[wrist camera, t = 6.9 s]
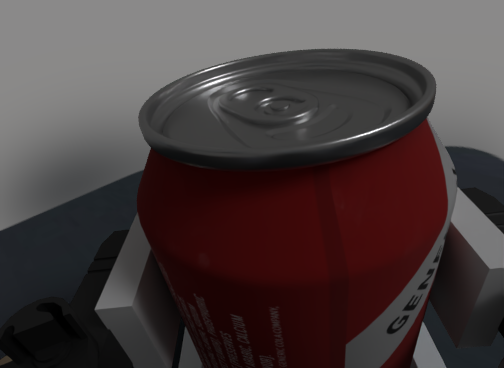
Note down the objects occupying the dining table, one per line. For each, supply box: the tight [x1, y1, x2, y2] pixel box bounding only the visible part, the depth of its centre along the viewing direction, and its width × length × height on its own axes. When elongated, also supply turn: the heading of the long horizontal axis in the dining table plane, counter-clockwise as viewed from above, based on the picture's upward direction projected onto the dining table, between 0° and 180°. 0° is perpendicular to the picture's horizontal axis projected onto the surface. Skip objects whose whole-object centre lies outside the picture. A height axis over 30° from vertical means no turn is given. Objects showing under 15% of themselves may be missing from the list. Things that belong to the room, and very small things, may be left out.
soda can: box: [137, 49, 457, 368], centre depth 10 cm, size 7×7×12 cm
